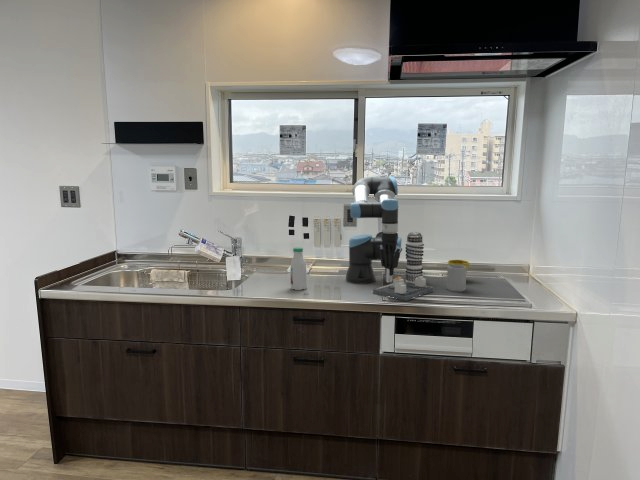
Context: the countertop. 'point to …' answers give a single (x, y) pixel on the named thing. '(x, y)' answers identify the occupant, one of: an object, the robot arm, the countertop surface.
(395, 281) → the breaker mid
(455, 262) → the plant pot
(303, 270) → the milk bottle
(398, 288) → the breaker left
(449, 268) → the mug
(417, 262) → the decorative candle
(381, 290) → the panel
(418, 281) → the breaker right
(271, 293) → the countertop surface
